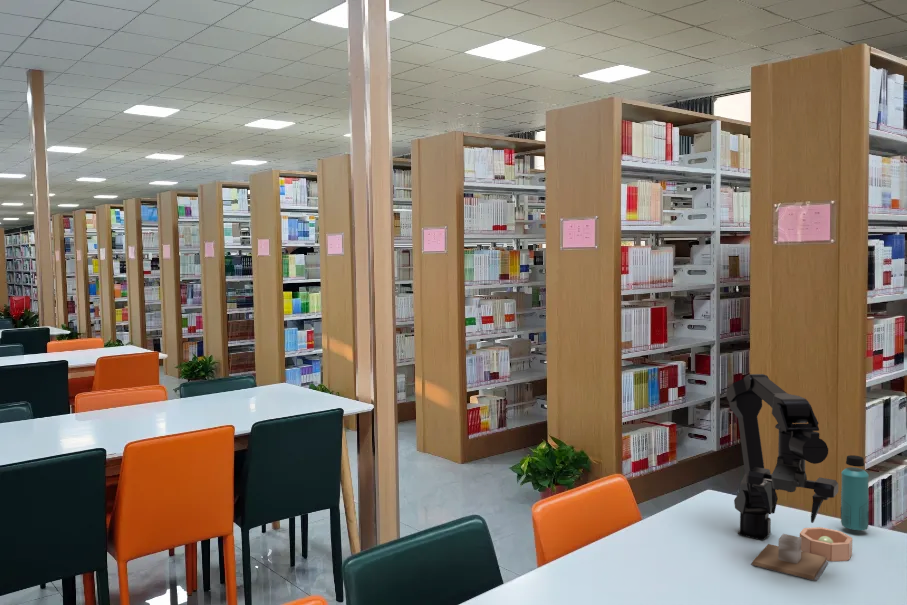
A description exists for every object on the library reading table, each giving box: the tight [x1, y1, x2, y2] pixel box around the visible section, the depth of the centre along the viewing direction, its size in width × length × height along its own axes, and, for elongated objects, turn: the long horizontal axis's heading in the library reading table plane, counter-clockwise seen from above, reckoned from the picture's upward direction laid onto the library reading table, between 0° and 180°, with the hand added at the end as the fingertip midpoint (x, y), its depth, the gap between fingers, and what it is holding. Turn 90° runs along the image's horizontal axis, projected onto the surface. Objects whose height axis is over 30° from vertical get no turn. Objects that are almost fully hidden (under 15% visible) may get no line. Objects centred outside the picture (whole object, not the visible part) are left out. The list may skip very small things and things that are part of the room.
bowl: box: [799, 526, 853, 562], centre depth 173 cm, size 11×11×4 cm
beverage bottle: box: [840, 454, 870, 531], centre depth 185 cm, size 6×7×20 cm
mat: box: [750, 560, 829, 582], centre depth 166 cm, size 14×12×1 cm
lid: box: [752, 533, 827, 581], centre depth 166 cm, size 13×13×6 cm
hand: (790, 517), depth 165 cm, fingers open, 9 cm apart
